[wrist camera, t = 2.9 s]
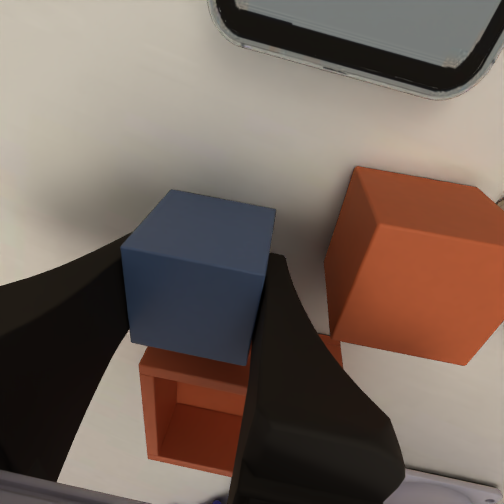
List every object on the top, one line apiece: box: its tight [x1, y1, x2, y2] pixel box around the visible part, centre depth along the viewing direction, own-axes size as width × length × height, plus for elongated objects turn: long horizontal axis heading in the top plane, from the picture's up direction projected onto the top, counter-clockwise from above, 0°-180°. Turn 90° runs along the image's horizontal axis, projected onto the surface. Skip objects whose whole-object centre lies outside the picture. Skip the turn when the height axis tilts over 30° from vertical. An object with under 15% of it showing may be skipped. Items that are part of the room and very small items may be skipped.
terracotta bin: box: [139, 334, 343, 477], centre depth 16 cm, size 8×8×4 cm
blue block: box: [120, 189, 276, 366], centre depth 11 cm, size 4×4×4 cm
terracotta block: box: [324, 166, 504, 366], centre depth 10 cm, size 4×4×4 cm
